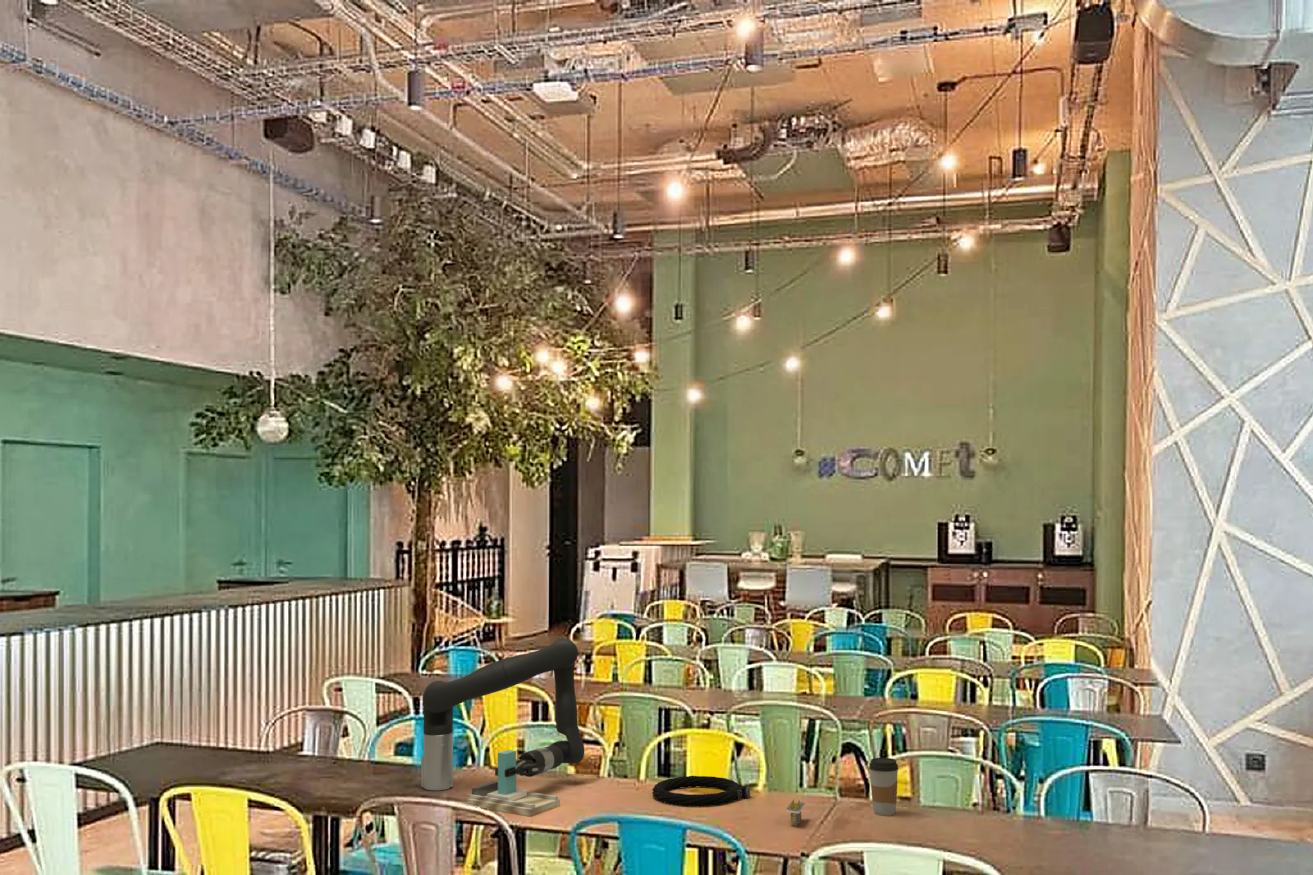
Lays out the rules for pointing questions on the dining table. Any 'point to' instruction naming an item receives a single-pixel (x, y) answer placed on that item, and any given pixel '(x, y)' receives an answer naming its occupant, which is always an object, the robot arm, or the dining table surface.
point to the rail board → (521, 806)
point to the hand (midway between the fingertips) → (500, 773)
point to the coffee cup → (884, 785)
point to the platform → (795, 811)
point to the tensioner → (507, 778)
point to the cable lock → (727, 796)
